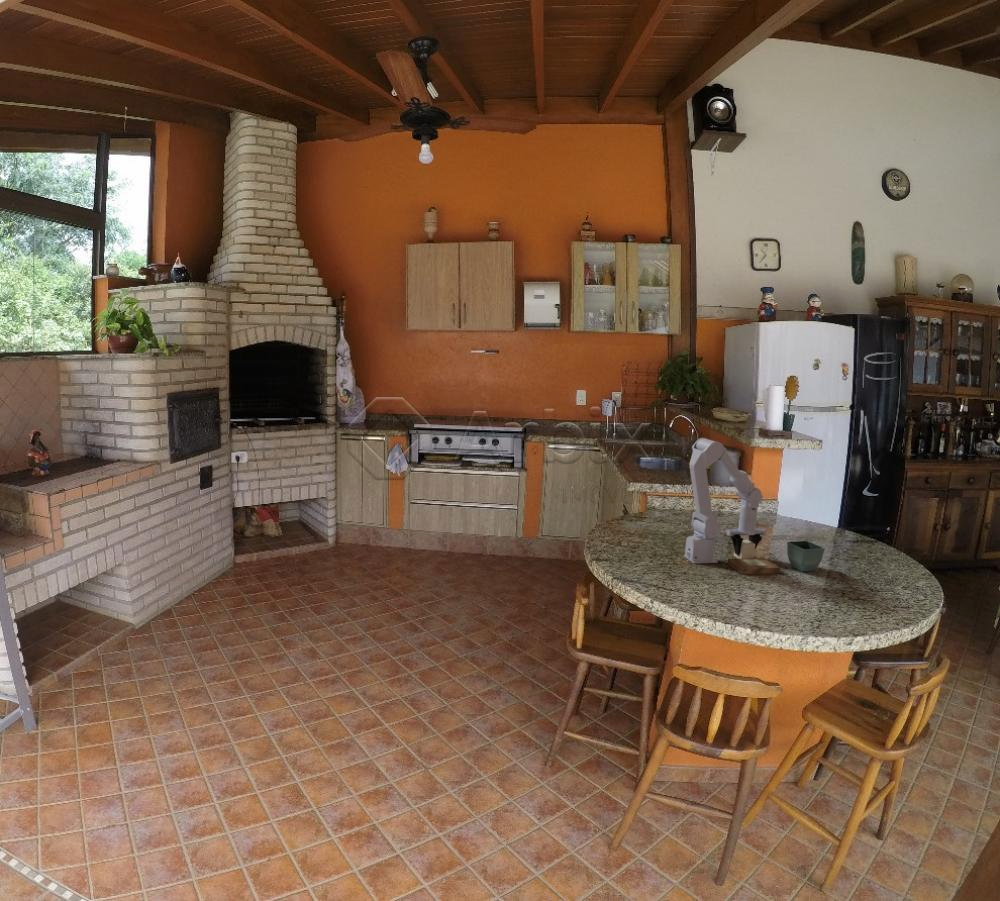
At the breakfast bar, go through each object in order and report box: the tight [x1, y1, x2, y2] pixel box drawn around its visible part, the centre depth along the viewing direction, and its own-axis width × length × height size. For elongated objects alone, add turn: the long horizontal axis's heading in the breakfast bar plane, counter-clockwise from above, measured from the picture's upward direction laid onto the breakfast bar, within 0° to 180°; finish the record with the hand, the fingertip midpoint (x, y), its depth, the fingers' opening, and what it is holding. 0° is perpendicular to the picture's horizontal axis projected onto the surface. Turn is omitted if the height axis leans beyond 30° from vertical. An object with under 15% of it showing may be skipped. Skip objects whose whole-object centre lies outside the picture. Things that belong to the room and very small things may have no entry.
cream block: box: [733, 539, 756, 558], centre depth 232 cm, size 5×5×6 cm
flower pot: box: [786, 540, 826, 573], centre depth 222 cm, size 9×9×9 cm
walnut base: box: [726, 557, 781, 575], centre depth 221 cm, size 14×10×2 cm
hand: (744, 554), depth 232 cm, fingers closed on cream block, 5 cm apart
